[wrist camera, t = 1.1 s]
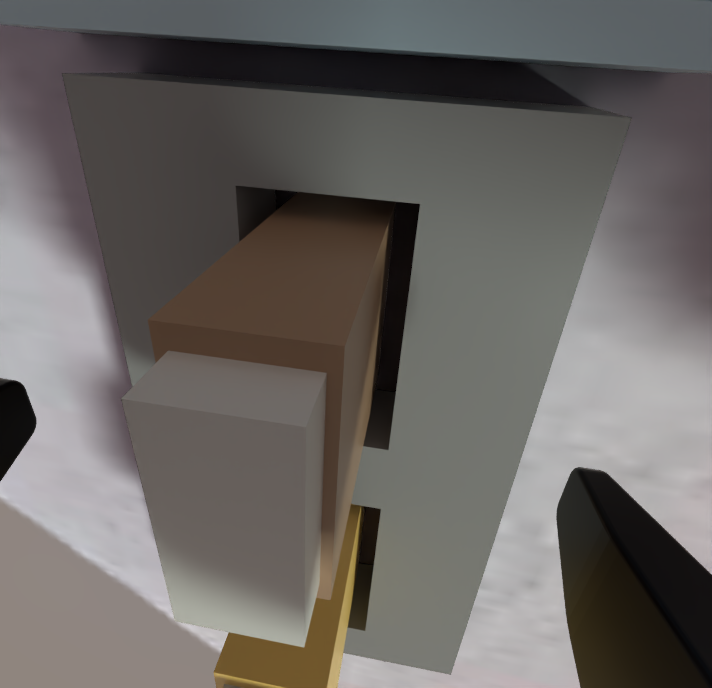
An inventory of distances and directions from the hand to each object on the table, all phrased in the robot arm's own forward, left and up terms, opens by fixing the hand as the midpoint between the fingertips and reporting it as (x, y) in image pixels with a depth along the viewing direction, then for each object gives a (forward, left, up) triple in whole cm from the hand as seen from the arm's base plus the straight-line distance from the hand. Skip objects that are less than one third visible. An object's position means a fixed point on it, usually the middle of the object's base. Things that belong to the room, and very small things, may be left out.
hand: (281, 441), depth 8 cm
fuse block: (0, +4, -6) cm, 7 cm away
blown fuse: (0, 0, -6) cm, 6 cm away
